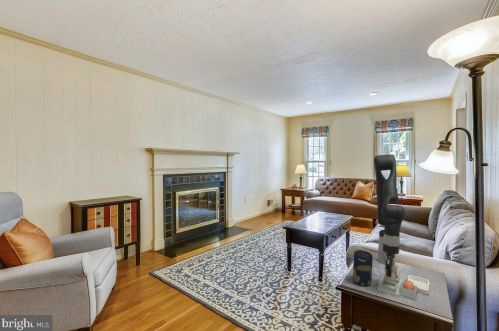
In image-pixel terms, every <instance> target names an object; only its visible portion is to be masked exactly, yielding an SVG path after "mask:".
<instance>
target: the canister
mask: <svg viewBox="0 0 499 331" xmlns="http://www.w3.org/2000/svg"><path fill="white" fill-rule="evenodd" d="M352 264H353V266H352V280H353V282H354V283H355V284H357V285H360V286H363V287H364V286H365V287H367V286H370V285H372V282H373V281H372V280H373V254H372V253H371V252H369V251H367V250H362V249H357V250H354V252H353V262H352Z"/></svg>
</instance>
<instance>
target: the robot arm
mask: <svg viewBox="0 0 499 331" xmlns="http://www.w3.org/2000/svg"><path fill="white" fill-rule="evenodd" d="M373 166H374V173H375V184H376V186H375V189H376V193H375V194H376V201H377V202H376V203H377V211H376V212H377V216H376V217H377V218H376V220H377V223H378V225H380V226H384V227H383V229H381V230H379V232H378V246H377V247H378V249H377V261H378V262H379V263H381V264H384V265H385V262H386V276H387V277H391V272H392V266H393V263H394V262H395V259H396V255H398V254H400V246H401V244H400V243H401V239H400V233H401V232H400V231H401V226H402V223H403V221H404V218H405V215H406V210H405V208H404V207H403V206H402V205H398V204H397V205H395V203H398V202H399V201H400V200H399V192H398V188H397V185H398V184H397V159H396V156H395V154H392V153H391V154H379V155H375V156H374V158H373ZM382 171H389V174H388V177H387V178H385V175H383V173H382ZM392 204H393V205H392ZM391 263H392V264H391ZM395 263H396V262H395ZM389 267H390V268H389Z"/></svg>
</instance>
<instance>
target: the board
mask: <svg viewBox="0 0 499 331" xmlns="http://www.w3.org/2000/svg"><path fill="white" fill-rule="evenodd" d="M384 276H385V273H382V276H381V277H380V280H379V282H378V284H377V287H376V290H377V291H380V292H383V293H385V294H389V295H392V296H396V297H400V295H399V293H400V285H401V282H404V279H403V278H401V275H400V274H397V279H393V280H392V279H388V278H385V277H384Z"/></svg>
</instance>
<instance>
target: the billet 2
mask: <svg viewBox="0 0 499 331" xmlns="http://www.w3.org/2000/svg"><path fill="white" fill-rule="evenodd" d="M397 275H398V264H395V273H394V279H397Z"/></svg>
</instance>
